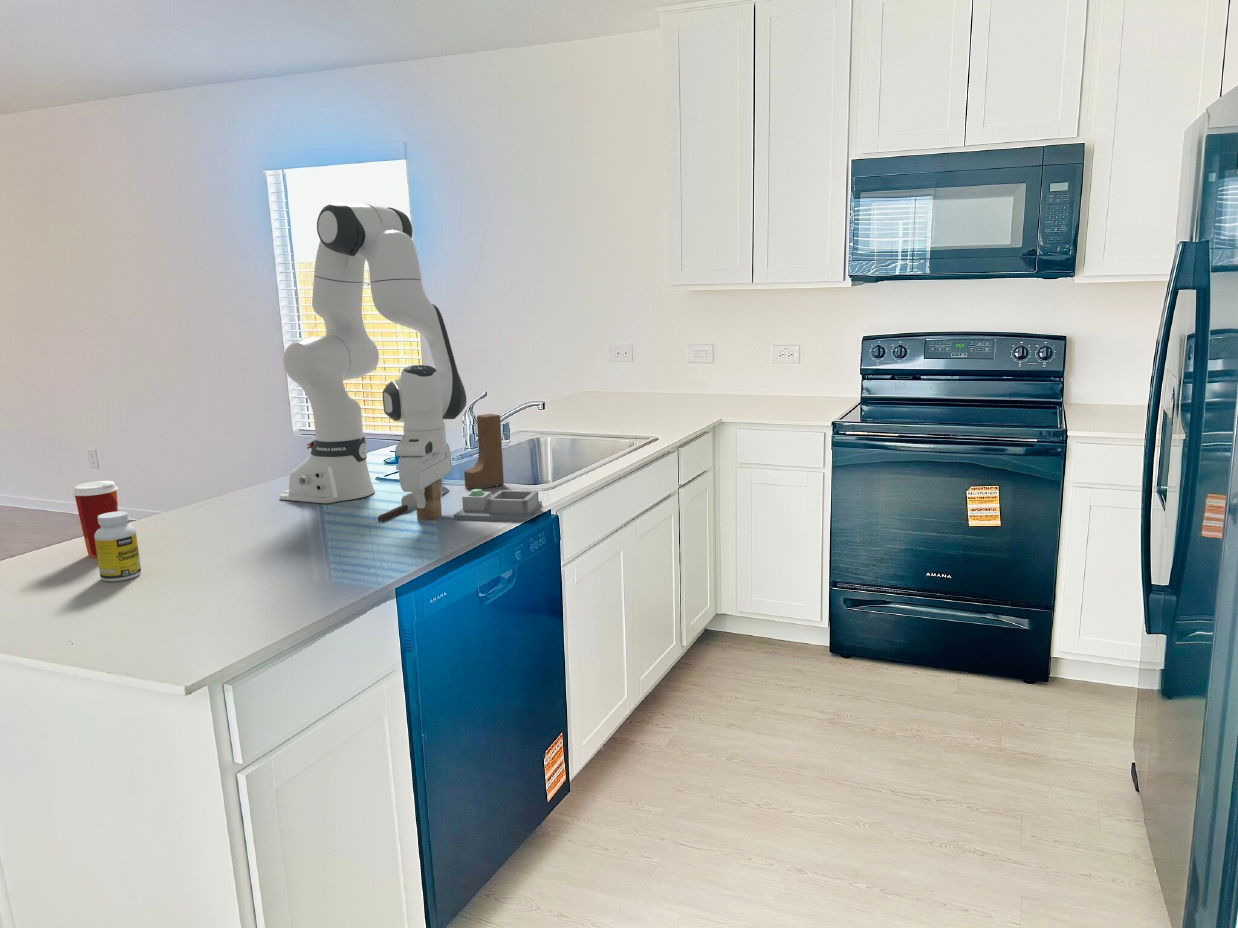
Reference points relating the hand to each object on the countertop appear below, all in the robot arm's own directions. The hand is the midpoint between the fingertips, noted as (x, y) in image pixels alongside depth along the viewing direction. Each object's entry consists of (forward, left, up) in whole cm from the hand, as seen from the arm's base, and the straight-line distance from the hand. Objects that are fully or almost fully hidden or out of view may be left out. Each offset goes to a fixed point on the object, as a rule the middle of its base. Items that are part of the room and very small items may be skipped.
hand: (429, 502), depth 192 cm
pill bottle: (-40, -45, -4) cm, 61 cm away
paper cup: (-54, -33, -4) cm, 64 cm away
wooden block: (+2, +30, -4) cm, 30 cm away
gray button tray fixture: (+14, +6, -3) cm, 15 cm away
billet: (0, 0, -3) cm, 3 cm away
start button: (+9, +6, -1) cm, 11 cm away
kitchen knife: (-8, +10, -4) cm, 13 cm away
